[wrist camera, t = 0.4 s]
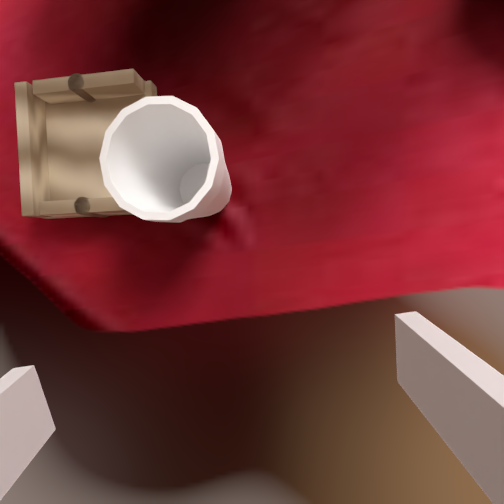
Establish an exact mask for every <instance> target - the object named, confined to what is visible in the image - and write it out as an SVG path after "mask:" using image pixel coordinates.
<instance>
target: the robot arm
mask: <svg viewBox="0 0 504 504" xmlns="http://www.w3.org/2000/svg"><path fill="white" fill-rule="evenodd" d="M395 330H396V331H395V332H396V356H397V357H396V358H397V382H398V383H399V384H400V385H401V387H402V388H403V389H404V390H405V392H406V393H407V394H408V396H409V397H410V398H411V399H412V401H413V402H414V403H415V405H416V406H417V407H418V408H419V410H420V411H421V412H422V414H423V415H424V416H425V417H426V419H427V420H428V421H429V422H430V424H431V425H432V426H433V428H434V429H435V430H436V431H437V433H438V434H439V435H440V436H441V438H442V439H443V440H444V442H445V443H446V444H447V445H448V447H449V448H450V449H451V451H452V452H453V453H454V454H455V456H456V457H457V458H458V459H459V461H460V462H461V463H462V465H463V466H464V467H465V468H466V470H467V471H468V472H469V474H470V475H471V476H472V477H473V479H474V480H475V481H476V483H477V484H478V485H479V486H480V488H481V489H482V490H483V492H484V493H485V494H486V495H487V496H488V498H489V499H490V500H491V502H492V503H493V504H504V375H502V374H501V373H499V372H498V371H497V370H495V369H494V368H492V367H491V366H490V365H489V364H487V363H486V362H484V361H483V360H481V359H480V358H479V357H478V356H476V355H475V354H473V353H472V352H471V351H469V350H468V349H467V348H465V347H464V346H463V345H461V344H460V343H458V342H457V341H456V340H454V339H453V338H452V337H450V336H449V335H447V334H446V333H445V332H443V331H442V330H441V329H439V328H438V327H437V326H435V325H434V324H432V323H431V322H430V321H428V320H427V319H425V318H424V317H423V316H422V315H420V314H419V313H418V312H416V311H415V312H408V313H402V314H395ZM54 430H55V426H54V423H53V420H52V417H51V414H50V411H49V408H48V405H47V402H46V399H45V396H44V393H43V390H42V387H41V385H40V381H39V378H38V375H37V372H36V370H35V367H34V365H33V366H26V367H19V368H13V369H12V370H11V371H9V372H8V373H7V374H5V375H4V376H3V377H2V378H0V500H1V499H2V498H3V496H4V495H5V494H6V493H7V491H8V490H9V489H10V488H11V486H12V485H13V483H14V482H15V481H16V480H17V479H18V477H19V476H20V475H21V473H22V472H23V471H24V469H25V468H26V467H27V466H28V464H29V463H30V462H31V460H32V459H33V458H34V457H35V455H36V454H37V453H38V451H39V450H40V449H41V448H42V446H43V445H44V443H45V442H46V441H47V440H48V438H49V437H50V436H51V435H52V433H53V432H54Z"/></svg>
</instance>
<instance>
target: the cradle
mask: <svg viewBox="0 0 504 504" xmlns="http://www.w3.org/2000/svg"><path fill="white" fill-rule="evenodd" d="M32 82H33V85H32V84H30V83H28V82H27V81H25V82H16V83H15V101H16V119H17V137H18V155H19V173H20V191H21V209H22V216H27V217H37V218H47V219H55V218H74V217H101V218H107V217H109V216H112V215H131V214H132V213H130V212H128V211H126V210H124V209H122V208H121V207H119V205H118V204H117V202H116V201H115V200H114V198H113V197H112V195H111V194H110V193H109V191H108V190H107V188H106V187H105V186H104V181H103V176H102V170H101V165H100V160H99V157H100V153H101V148H102V144H103V140H104V135H105V131H106V130H107V129H108V127H109V126H110V125H111V123H112V122H113V121H114V119H115V118H116V117H117V115H118V114H119V113H120V111H121V110H122V109H124V108H125V107H127V106H129V105H131V104H133V103H135V102H137V101H139V100H140V99H142V98H144V97H150V96H157V87H156V86H155V85H154V84H153V82H152V81H144V80H143V79H142V78H141V77H140V75H139V74H138V73H137V72H136V71H135V70H134V69H126V70H118V71H109V72H101V73H92V74H84V75H81V74H79V73H74V74H72V75H71V76H67V77H59V78H50V79H42V80H33V81H32Z"/></svg>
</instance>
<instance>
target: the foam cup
mask: <svg viewBox="0 0 504 504" xmlns="http://www.w3.org/2000/svg"><path fill="white" fill-rule="evenodd" d="M99 160H100V165H101V170H102V176H103V181H104V186H105V187H106V188H107V190H108V191H109V193H110V194H111V195H112V197H113V198H114V200H115V201H116V202H117V204H118V205H119V207H121V208H122V209H124V210H126V211H128V212H130V213H132V214H133V215H135V216H137V217H139V218H141V219H143V220H148V221H154V222H180V223H181V222H183V221H185V220H187V219H192V218H199V217H206V216H211V215H213V214H215V213H218V212H220V211H221V210H222V209H223V208H224V207H225V206H226V204H227V203H228V202H229V199H230V195H231V192H232V187H231V182H230V177H229V173H228V170H227V167H226V164H225V160H224V154H223V149H222V144H221V140H220V139H219V137H218V136H217V134H216V133H215V131H214V130H213V129H212V127H211V126H210V125H209V123H208V122H207V121H206V119H205V118H204V117H203V115H202V114H201V113H200V111H199V110H198V109H197V108H196V107H194V106H192V105H190V104H188V103H186V102H184V101H182V100H180V99H178V98H176V97H174V96H150V97H144V98H142V99H140V100H139V101H137V102H135V103H133V104H131V105H129V106H127V107H125V108H124V109H122V110H121V111H120V113H119V114H118V115H117V117H116V118H115V119H114V121H113V122H112V123H111V125H110V126H109V127H108V129H107V130H106V131H105V135H104V140H103V144H102V148H101V153H100V157H99Z"/></svg>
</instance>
